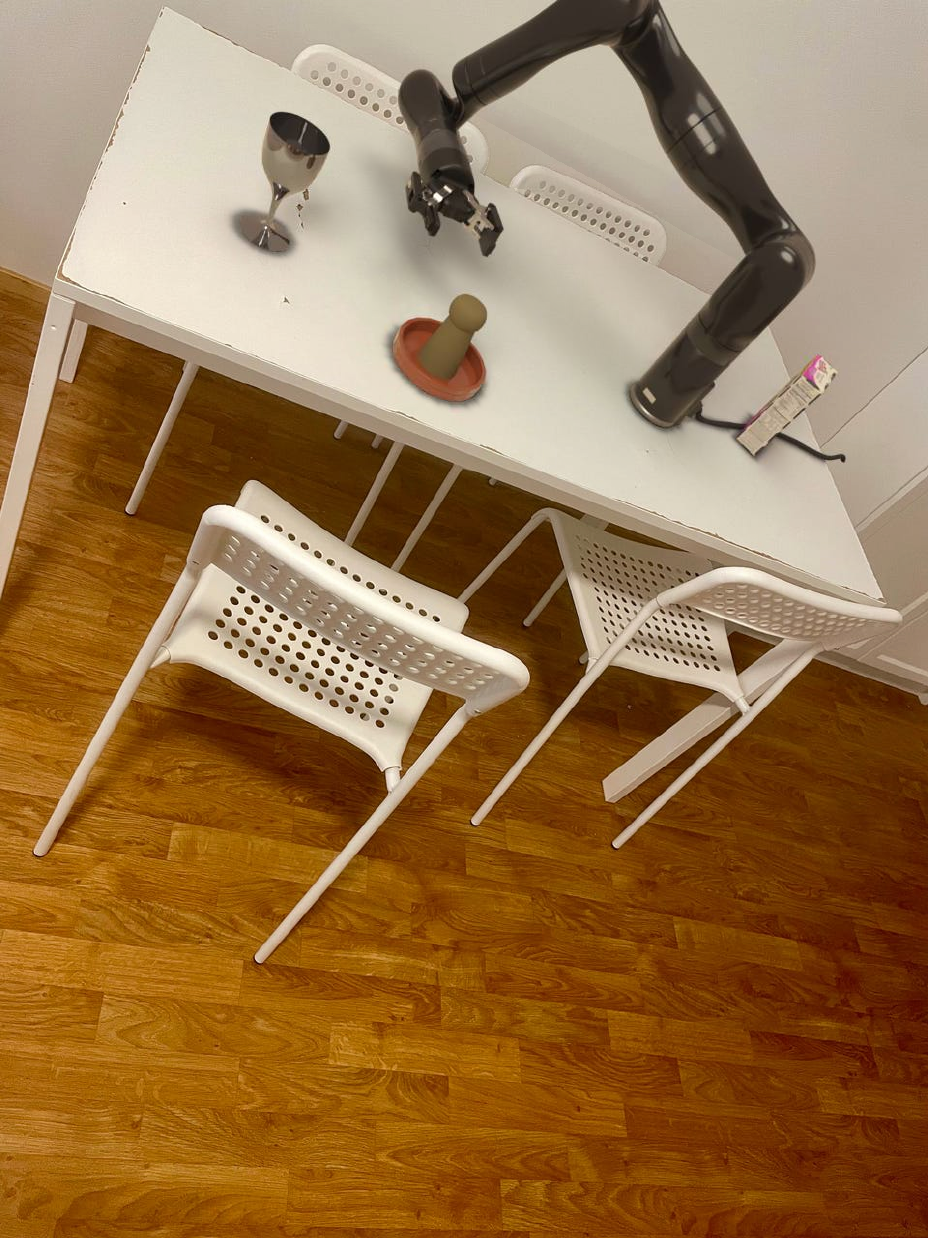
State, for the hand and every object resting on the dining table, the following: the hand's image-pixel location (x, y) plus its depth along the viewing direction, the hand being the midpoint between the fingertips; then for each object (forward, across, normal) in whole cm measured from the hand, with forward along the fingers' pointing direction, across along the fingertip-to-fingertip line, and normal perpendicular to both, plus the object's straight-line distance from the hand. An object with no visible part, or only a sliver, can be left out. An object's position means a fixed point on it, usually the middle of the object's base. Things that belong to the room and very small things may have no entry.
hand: (462, 241), depth 118 cm
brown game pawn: (+12, 0, +12) cm, 17 cm away
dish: (+12, 0, +12) cm, 17 cm away
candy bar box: (+7, +66, +12) cm, 68 cm away
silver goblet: (-5, -24, +12) cm, 27 cm away
